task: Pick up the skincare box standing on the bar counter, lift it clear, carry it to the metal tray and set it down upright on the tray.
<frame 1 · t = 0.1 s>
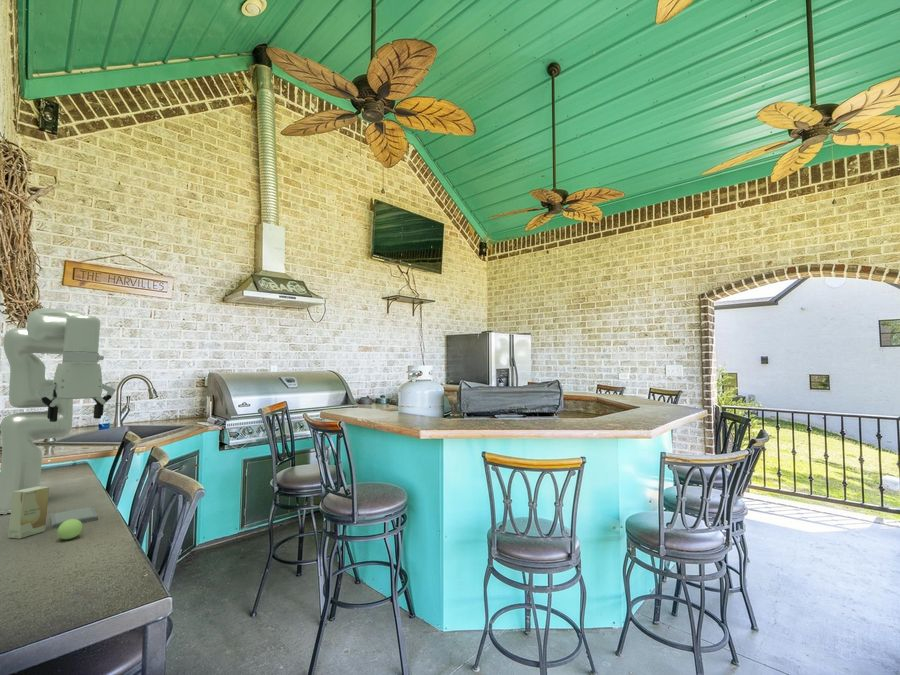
hand: (75, 419, 117), 31 cm above the table, tool pointing down, fingers open, 9 cm apart
lime: (69, 538, 111), on the table
skincare box: (27, 535, 115), on the table
metal tray: (73, 518, 128), on the table
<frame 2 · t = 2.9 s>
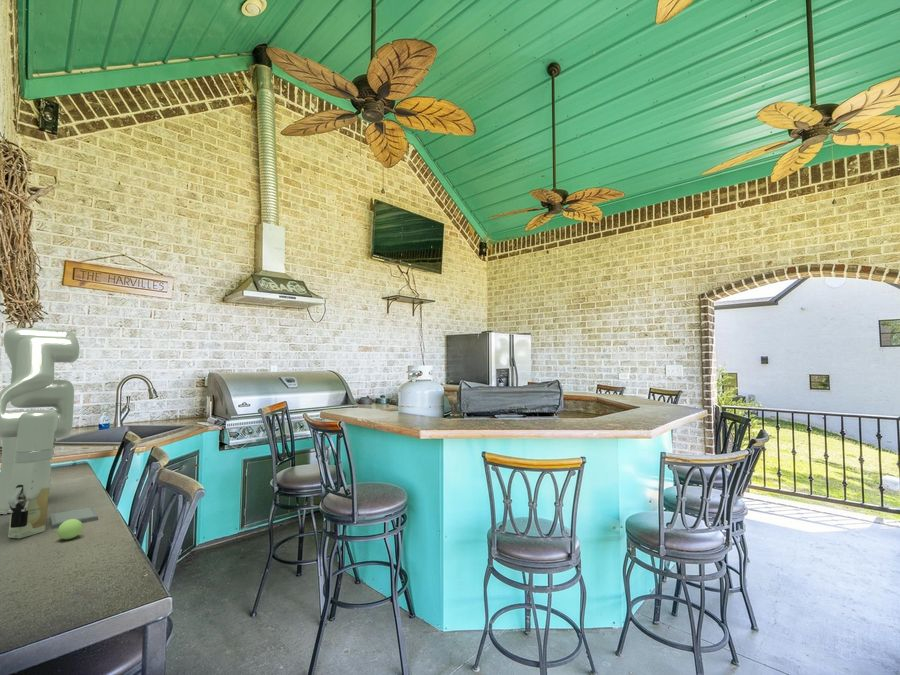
hand: (28, 521, 115), 3 cm above the table, tool pointing down, fingers closed on skincare box, 7 cm apart
skincare box: (27, 535, 115), on the table, touching gripper
everything else where it was.
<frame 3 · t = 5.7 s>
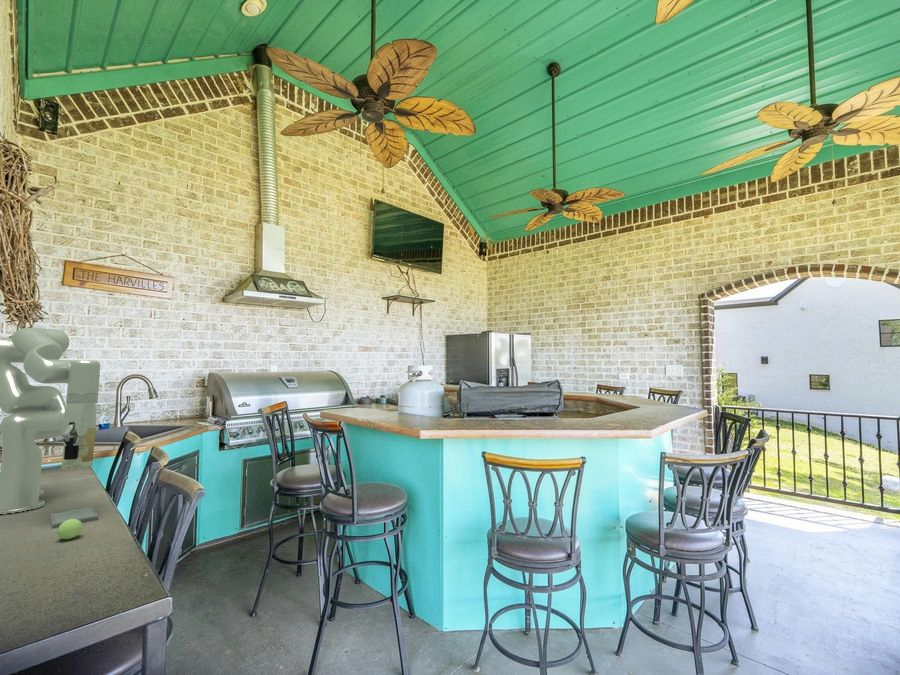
hand: (78, 456, 130), 19 cm above the table, tool pointing down, fingers closed on skincare box, 7 cm apart
skincare box: (77, 468, 129), point 15 cm above the table, touching gripper
everything else where it was.
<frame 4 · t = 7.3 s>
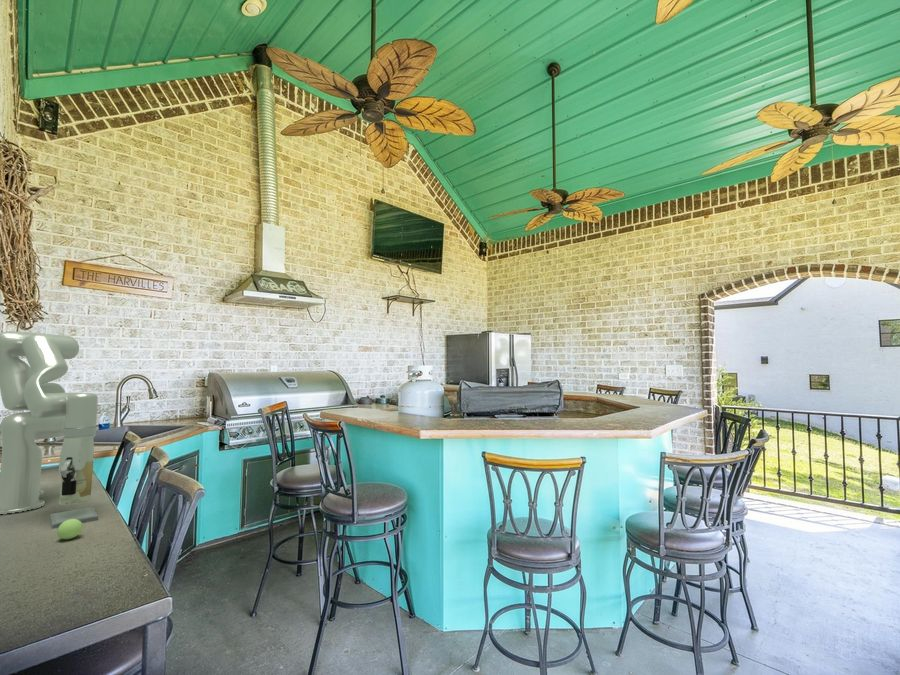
hand: (75, 491, 128), 8 cm above the table, tool pointing down, fingers closed on skincare box, 7 cm apart
skincare box: (75, 503, 128), point 5 cm above the table, touching gripper
everything else where it was.
when the fingers open (5 cm above the table, at t = 8.6 s): skincare box stays where it is, resting on metal tray.
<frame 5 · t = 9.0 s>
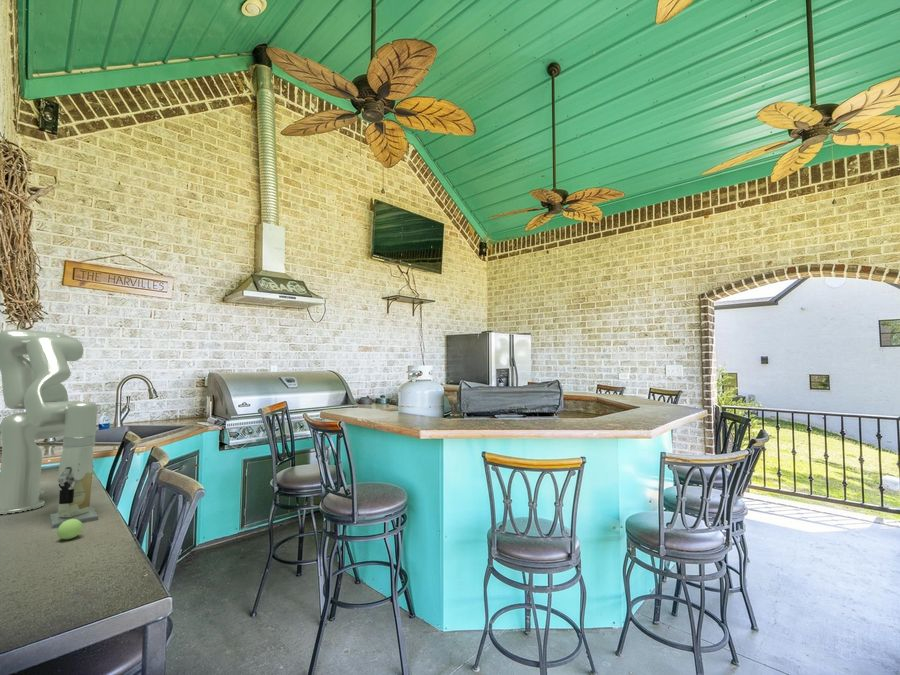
hand: (75, 499, 128), 6 cm above the table, tool pointing down, fingers open, 9 cm apart
skincare box: (74, 515, 128), point 1 cm above the table, touching metal tray
everything else where it was.
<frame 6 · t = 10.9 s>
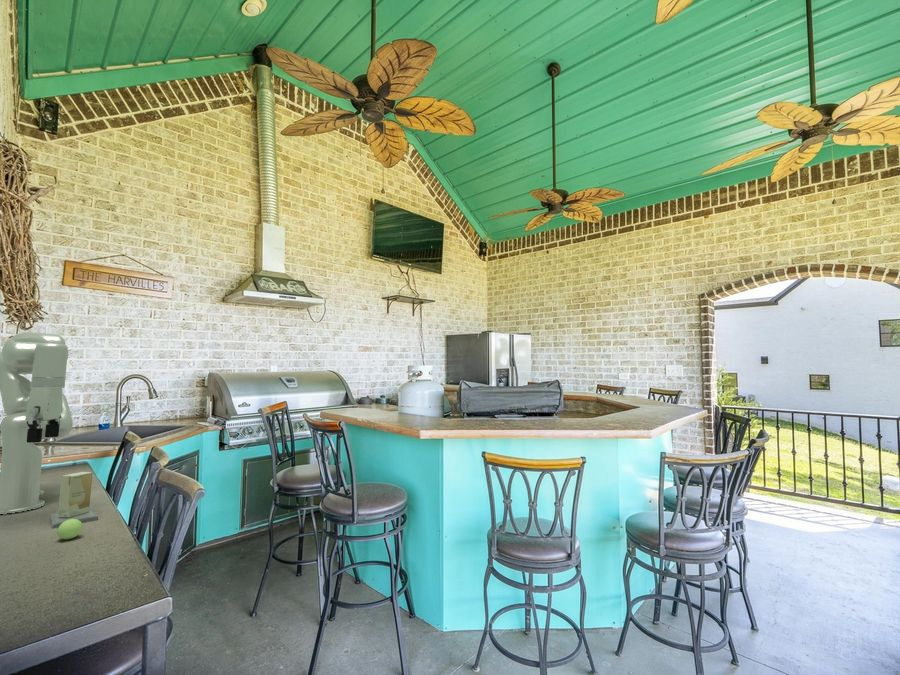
hand: (43, 439, 127), 24 cm above the table, tool pointing down, fingers open, 9 cm apart
nothing on the table moved.
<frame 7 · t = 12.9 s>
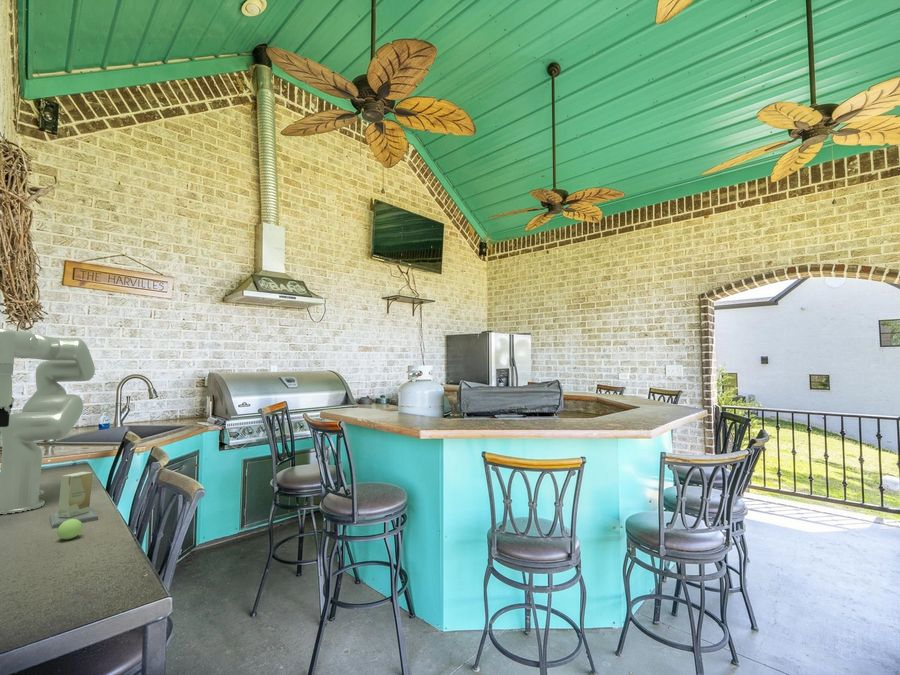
nothing on the table moved.
at the end: skincare box inside the target area on the metal tray (0.4 cm from its centre), point 0.9 cm above the metal tray's base; skincare box tilted 0°; the gripper is holding nothing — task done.
